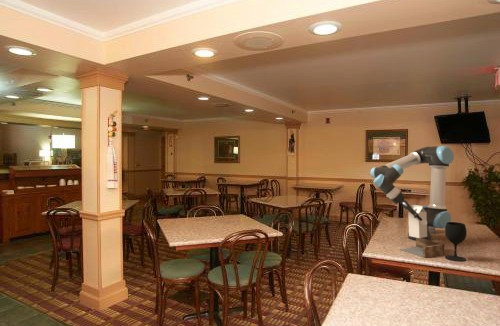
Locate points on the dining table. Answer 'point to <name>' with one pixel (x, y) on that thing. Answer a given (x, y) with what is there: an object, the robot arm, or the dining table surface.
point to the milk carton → (417, 223)
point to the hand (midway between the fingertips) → (423, 222)
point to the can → (432, 230)
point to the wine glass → (455, 238)
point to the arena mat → (414, 250)
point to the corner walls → (430, 247)
